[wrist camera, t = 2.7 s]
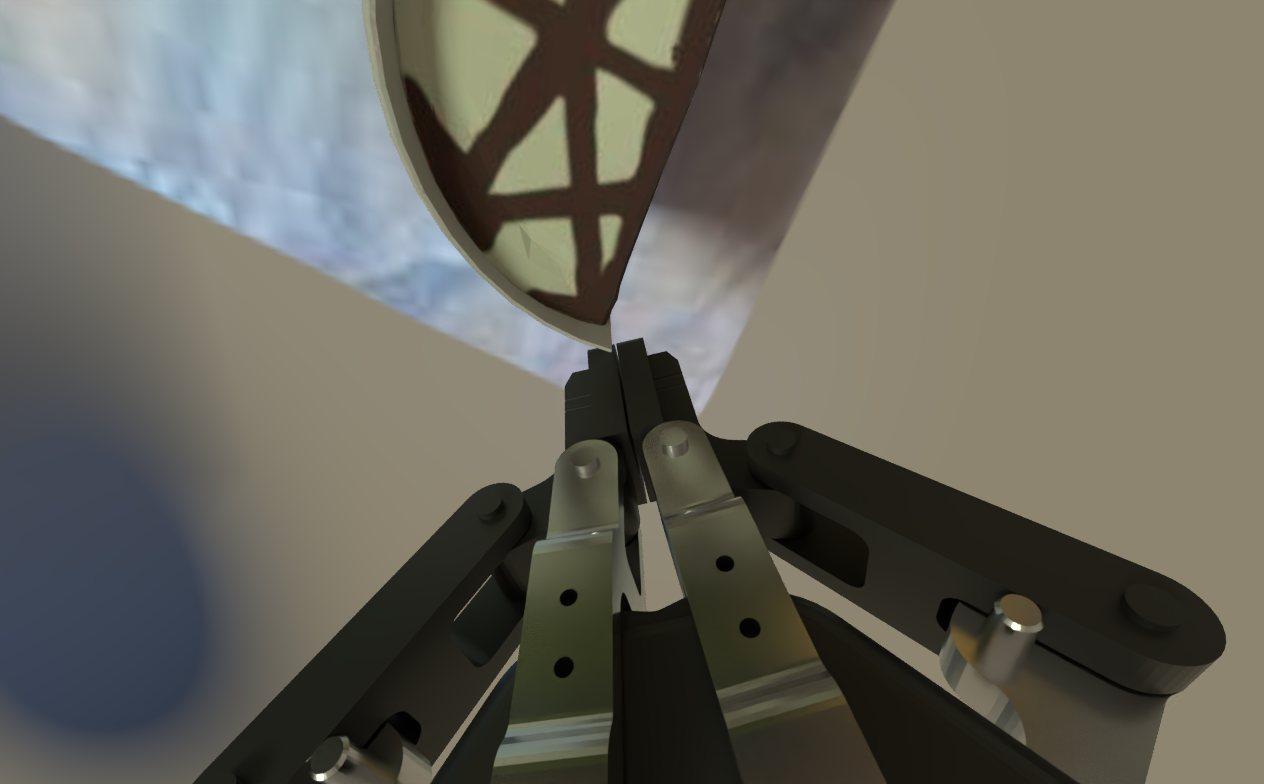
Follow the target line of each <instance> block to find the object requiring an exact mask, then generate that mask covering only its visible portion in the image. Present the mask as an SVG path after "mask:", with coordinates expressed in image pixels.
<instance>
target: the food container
mask: <svg viewBox="0 0 1264 784" xmlns="http://www.w3.org/2000/svg"><path fill="white" fill-rule="evenodd" d="M725 2H726V0H362V14H363V20H364V26H365V32H366V38H367V44H368V50H369V56H370V62H371V68H372V74H373V80H374V83H375V86H376V90H377V93H378V96H379V99H380V103H381V106H382V109H383V112H384V116H385V119H386V122H387V126H388V129H389V132H390V135H391V138H392V141H393V143H394V145H395V147H396V149H397V151H398V154H399V156H400V158H401V160H402V162H403V165H404V167H405V169H406V171H407V173H408V175H409V178H410V180H411V182H412V184H413V186H414V188H415V190H416V192H417V193H418V195H419V196H420V198H421V200H422V201H423V203H424V204H425V206H426V207H427V209H428V211H429V212H430V214H431V215H432V217H433V219H434V220H435V222H436V223H437V225H438V226H439V228H440V230H441V231H442V232H443V234H444V235H445V236H446V237H447V238H448V240H449V241H450V242H451V243H452V244H453V245H454V247H455V248H456V249H457V250H458V251H459V253H460V254H461V255H462V256H463V257H464V259H465V260H466V261H467V262H468V263H469V265H470V266H471V267H472V268H473V269H474V270H475V271H476V272H477V273H478V274H479V275H480V276H481V277H482V278H483V279H485V280H486V281H487V282H488V283H489V284H490V285H491V286H492V287H494V288H495V289H496V290H497V291H498V292H499V293H500V294H501V295H502V296H504V297H505V298H506V299H507V300H508V301H509V302H510V303H512V304H513V305H515V306H516V307H518V308H519V309H521V310H522V311H524V312H525V313H527V314H528V315H530V316H531V317H533V318H534V319H536V320H537V321H538V322H540V323H541V324H543V325H545V326H547V327H549V328H551V329H553V330H555V331H557V332H559V333H561V334H563V335H565V336H567V337H569V338H571V339H573V340H576V341H578V342H580V343H583V344H586V345H589V346H592V347H596V348H599V349H602V350H605V351H608V352H611V351H612V340H611V323H610V314H611V311H612V309H613V307H614V305H615V303H616V301H617V299H618V294H619V289H620V285H621V282H622V279H623V276H624V273H625V270H626V267H627V264H628V261H629V259H630V256H631V254H632V251H633V248H634V246H635V243H636V240H637V238H638V235H639V232H640V230H641V227H642V224H643V222H644V219H645V216H646V214H647V211H648V209H649V206H650V203H651V201H652V198H653V195H654V193H655V190H656V188H657V185H658V182H659V180H660V177H661V174H662V172H663V169H664V167H665V164H666V162H667V159H668V157H669V155H670V152H671V150H672V147H673V145H674V142H675V140H676V137H677V135H678V132H679V130H680V127H681V125H682V122H683V120H684V117H685V115H686V112H687V110H688V107H689V105H690V102H691V100H692V97H693V95H694V92H695V90H696V87H697V85H698V82H699V79H700V76H701V73H702V70H703V67H704V64H705V61H706V58H707V55H708V52H709V49H710V46H711V44H712V41H713V38H714V35H715V32H716V29H717V26H718V23H719V20H720V17H721V14H722V11H723V8H724V5H725Z"/></svg>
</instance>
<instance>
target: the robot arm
mask: <svg viewBox="0 0 1264 784" xmlns="http://www.w3.org/2000/svg"><path fill="white" fill-rule="evenodd" d="M616 345H617V351H618V355H617V352H616V348H615V345H614V344H613V345H612V351H611V352H608V351H605V350H602V349H599V348H596V349H591V350H588V365H589V369H588V370H583V371H579V372H575V373H572V375H571V376H570V378H569V380H568V382H567V383H566V385H565V412H566V413H565V451H564V452H563V453H562V454H561V455H560V457H559V459H558V460H557V462H556V465H555V472H554V474H553V475H552V476H551V477H549V478H548V479H546V480H545V481H543V482H541V483H540V484H538V485H536V486H534V487H532V488H530V489H528V490H526V491H523V492H521V491H520V489H519V488H518V487H516V486H515V485H512V484H509V483H497V484H492V485H489V486H486V487H484V488H482V489H480V490H479V491H477V492H476V493H474V494H473V495H472V496H471V497H469V499H467V501H465V502H464V504H463V505H462V506H461V507H460V508H459V509H458V510H457V511H456V512H455V513H454V514H453V515H452V516H451V517H450V518H449V519H448V520H447V521H446V522H445V523H444V524H443V525H442V526H441V527H440V528H439V529H438V530H437V531H436V532H435V534H434V535H432V536H431V538H430V539H429V540H428V541H427V542H426V543H425V544H424V545H423V546H422V547H421V548H420V549H419V550H418V551H417V552H416V553H415V554H414V555H413V556H412V557H411V558H410V559H409V560H408V561H407V562H406V563H405V564H404V565H403V566H402V567H401V568H400V570H398V572H397V573H396V574H395V575H394V576H393V577H392V578H391V579H390V580H389V581H388V582H387V583H386V584H385V585H384V586H383V587H382V588H381V589H380V590H379V591H378V592H377V593H376V594H375V595H374V596H373V597H372V598H371V599H370V600H369V601H368V603H366V605H365V606H364V607H363V608H362V609H361V610H360V611H359V612H358V613H357V614H356V615H355V616H354V617H353V618H352V619H351V620H350V621H349V622H348V623H347V624H346V625H345V626H344V627H343V629H341V630H340V631H339V633H337V634H336V636H334V637H333V639H332V640H331V641H330V642H329V643H328V644H327V645H326V646H325V647H324V648H323V649H322V650H321V651H320V652H319V653H318V654H317V655H316V656H315V657H314V658H313V659H312V660H311V661H310V662H309V663H308V665H306V666H305V667H304V669H302V671H301V672H300V673H299V674H298V675H297V676H296V677H295V678H294V679H293V680H292V681H291V682H290V683H289V684H288V685H287V686H286V687H285V688H284V689H283V690H282V691H281V692H280V693H279V694H278V695H277V696H276V697H275V698H274V699H273V700H272V702H270V703H269V704H268V706H267V707H266V708H265V709H264V710H263V711H262V712H261V713H260V714H259V715H258V716H257V717H256V718H255V719H254V720H253V721H252V722H251V723H250V724H249V725H248V726H247V727H246V728H245V729H244V730H243V731H242V732H241V733H240V734H239V735H238V736H237V737H236V738H235V740H234V741H233V742H232V743H231V744H230V745H229V746H228V747H227V748H226V749H225V750H224V751H223V752H222V753H221V754H220V755H219V756H218V757H217V758H216V759H215V760H214V761H213V762H212V763H211V764H210V765H209V766H208V767H207V768H206V769H205V770H204V772H203V773H202V774H201V775H200V776H199V777H198V778H197V779H196V780H195V782H194V783H193V784H1145V781H1146V777H1147V773H1148V770H1149V766H1150V762H1151V758H1152V754H1153V750H1154V746H1155V742H1156V738H1157V734H1158V731H1159V727H1160V723H1161V718H1162V714H1163V711H1164V708H1165V707H1166V706H1167V705H1168V704H1169V703H1170V702H1171V701H1172V700H1173V699H1175V698H1176V697H1177V696H1178V695H1179V694H1180V693H1181V692H1182V691H1183V690H1184V689H1185V688H1187V687H1188V686H1189V684H1191V683H1192V682H1193V681H1194V680H1195V679H1196V678H1197V677H1198V676H1199V675H1200V674H1201V673H1203V672H1204V671H1205V670H1206V669H1207V668H1208V667H1209V666H1210V665H1211V664H1212V663H1214V662H1215V661H1216V660H1217V659H1218V658H1219V657H1220V656H1221V655H1222V653H1223V651H1224V649H1225V645H1226V635H1225V632H1224V629H1223V626H1222V624H1221V622H1220V621H1219V619H1218V617H1217V616H1216V614H1215V613H1214V612H1213V611H1212V609H1211V608H1210V607H1209V606H1208V605H1207V604H1206V603H1205V602H1204V601H1203V600H1202V599H1201V598H1200V597H1198V596H1197V595H1196V594H1195V593H1193V592H1192V591H1191V590H1189V589H1188V588H1186V587H1185V586H1183V585H1182V584H1180V583H1178V582H1176V581H1174V580H1173V579H1171V578H1169V577H1167V576H1164V575H1162V574H1160V573H1158V572H1155V571H1153V570H1150V569H1148V568H1145V567H1143V566H1141V565H1138V564H1136V563H1133V562H1131V561H1128V560H1126V559H1123V558H1121V557H1119V556H1116V555H1114V554H1111V553H1109V552H1107V551H1104V550H1102V549H1099V548H1097V547H1095V546H1092V545H1090V544H1087V543H1085V542H1082V541H1080V540H1078V539H1075V538H1073V537H1070V536H1068V535H1065V534H1063V533H1061V532H1058V531H1056V530H1053V529H1051V528H1048V527H1046V526H1044V525H1041V524H1039V523H1036V522H1034V521H1032V520H1029V519H1026V518H1024V517H1022V516H1019V515H1017V514H1015V513H1012V512H1010V511H1007V510H1005V509H1002V508H1000V507H998V506H995V505H993V504H990V503H988V502H985V501H983V500H981V499H978V498H976V497H973V496H971V495H968V494H966V493H963V492H961V491H959V490H956V489H954V488H952V487H949V486H946V485H944V484H942V483H939V482H937V481H934V480H932V479H930V478H927V477H925V476H922V475H920V474H918V473H915V472H913V471H910V470H908V469H906V468H903V467H901V466H898V465H896V464H893V463H891V462H889V461H886V460H884V459H881V458H879V457H876V456H874V455H872V454H869V453H867V452H864V451H862V450H859V449H857V448H855V447H852V446H850V445H847V444H845V443H843V442H840V441H838V440H835V439H832V438H830V437H828V436H826V435H823V434H821V433H818V432H816V431H813V430H811V429H809V428H806V427H804V426H801V425H799V424H795V423H791V422H771V423H767V424H764V425H762V426H760V427H758V428H757V429H755V430H754V431H753V432H752V433H751V434H750V435H749V437H748V439H747V440H726V439H721V438H718V437H715V436H712V435H710V434H709V433H707V432H706V431H705V430H703V429H702V427H701V426H700V424H699V422H698V420H697V417H696V413H695V410H694V407H693V404H692V401H691V398H690V395H689V392H688V389H687V386H686V384H685V380H684V377H683V375H682V371H681V368H680V365H679V362H678V360H677V359H676V358H674V357H673V356H672V355H671V354H669V353H668V352H667V351H665V352H660V353H656V354H652V355H648V356H647V353H646V348H645V344H644V340H643V337H642V338H638V339H634V340H630V341H625V342H621V343H617V344H616ZM618 357H619V359H618ZM643 478H644V481H643ZM644 482H645V485H646V489H647V493H648V496H649V500H650V502H654V501H657V505H658V509H659V512H660V516H661V521H662V524H663V528H664V532H665V535H666V539H667V542H668V546H669V549H670V552H671V556H672V559H673V562H674V566H675V569H676V573H677V576H678V580H679V583H680V587H681V590H682V593H683V597H684V598H683V599H681V600H679V601H677V602H675V603H673V604H671V605H669V606H667V607H665V608H663V609H661V610H658V611H652V612H648V611H647V609H646V597H645V581H644V566H643V548H642V534H641V529H640V516H639V510H638V505H641V504H645V503H647V499H646V493H645V487H644ZM768 550H769V551H770V552H772V553H773V554H775V555H777V556H778V557H780V558H781V559H783V560H785V561H786V562H788V563H790V564H791V565H793V566H794V567H796V568H798V569H799V570H801V571H803V572H804V573H806V574H807V575H809V576H811V577H812V578H814V579H816V580H817V581H819V582H820V583H822V584H824V585H825V586H827V587H829V588H830V589H832V590H834V591H835V592H837V593H838V594H840V595H841V596H843V597H845V598H846V599H848V600H849V601H851V602H853V603H854V604H856V605H858V606H859V607H861V608H862V609H864V610H866V611H867V612H869V613H870V614H872V615H874V616H875V617H877V618H879V619H880V620H882V621H884V622H885V623H887V624H888V625H890V626H892V627H893V628H895V629H896V630H898V631H900V632H901V633H903V634H905V635H906V636H908V637H909V638H911V639H913V640H914V641H916V642H918V643H919V644H921V645H922V646H924V647H926V648H927V649H929V650H930V651H932V652H934V653H935V654H937V655H938V656H939V660H940V661H939V662H940V666H941V670H942V672H943V675H944V677H945V679H946V681H947V682H948V684H949V685H950V687H951V688H952V689H953V691H954V692H955V693H956V694H957V695H958V696H959V697H960V698H961V699H962V700H963V701H965V702H966V703H967V704H968V705H970V706H971V707H972V708H973V709H974V710H973V709H972V708H970V707H969V706H967V705H966V704H965V703H963V702H962V701H960V700H959V699H957V698H956V697H955V696H953V695H951V694H950V693H949V692H947V691H945V690H944V689H943V688H942V687H940V686H939V685H937V684H936V683H934V682H933V681H931V680H930V679H929V678H927V677H926V676H924V675H923V674H921V673H920V672H918V671H917V670H915V669H914V668H913V667H911V666H910V665H908V664H907V663H905V662H904V661H902V660H901V659H900V658H898V657H896V656H895V655H894V654H892V653H891V652H889V651H888V650H887V649H885V648H884V647H882V646H881V645H879V644H878V643H876V642H875V641H874V640H872V639H871V638H869V637H868V636H866V635H865V634H863V633H862V632H860V631H859V630H858V629H856V628H855V627H853V626H852V625H851V624H849V623H848V622H846V621H845V620H843V619H842V618H840V617H839V616H837V615H836V614H834V613H833V612H831V611H830V610H828V609H826V608H824V607H822V606H820V605H818V604H817V603H814V602H812V601H809V600H807V599H804V598H801V597H798V596H794V595H790V594H789V593H788V591H787V589H786V587H785V585H784V583H783V581H782V579H781V576H780V574H779V572H778V570H777V568H776V566H775V564H774V562H773V560H772V558H771V556H770V553H769V551H768ZM490 575H492V576H491V577H490V579H489V580H488V581H487V582H486V583H485V585H484V586H483V587H482V588H481V589H480V591H479V592H478V593H477V594H476V595H475V597H474V598H473V599H472V600H471V601H470V603H469V604H468V605H467V607H466V608H465V609H464V610H463V611H462V612H461V614H460V615H459V616H458V617H457V618H456V616H457V615H458V614H459V612H460V611H461V610H462V609H463V607H464V606H465V605H466V604H467V603H468V601H469V600H470V599H471V598H472V597H473V595H474V594H475V593H476V592H477V591H478V589H479V588H480V587H481V586H482V584H483V583H484V582H485V581H486V580H487V578H488V577H489V576H490ZM455 618H456V620H455V621H454V619H455ZM519 644H520V647H519V655H518V660H517V661H516V662H515V663H514V664H513V665H512V666H511V667H510V668H509V669H508V671H507V672H506V673H505V674H504V675H503V677H502V678H501V679H500V680H499V682H498V683H497V685H496V686H495V687H494V689H493V690H492V692H491V693H490V695H489V696H488V698H487V699H486V701H485V702H484V704H483V705H482V707H481V708H480V710H479V711H478V713H477V714H476V716H475V717H474V719H473V720H472V722H471V723H470V725H469V726H468V728H467V729H466V731H465V732H464V734H463V735H462V737H461V738H460V740H459V741H458V743H457V744H456V746H455V747H454V749H453V750H452V752H451V753H450V755H449V756H448V758H447V759H446V761H445V762H444V764H443V765H442V767H441V768H440V770H439V771H438V773H437V774H436V776H435V777H434V779H433V780H432V769H431V767H432V765H433V764H434V763H435V761H436V760H437V759H438V757H439V756H440V754H441V753H442V752H443V750H444V749H445V747H446V746H447V745H448V743H449V742H450V740H451V739H452V738H453V736H454V735H455V733H456V732H457V731H458V729H459V728H460V726H461V725H462V724H463V722H464V721H465V719H466V718H467V717H468V715H469V714H470V712H471V711H472V709H473V708H474V707H475V705H476V704H477V703H478V701H479V700H480V698H481V697H482V696H483V694H484V693H485V692H486V690H487V689H488V687H489V686H490V684H491V683H492V682H493V680H494V679H495V678H496V676H497V675H498V673H499V672H500V671H501V669H502V668H503V666H504V665H505V664H506V662H507V661H508V659H509V658H510V657H511V655H512V654H513V652H514V651H515V650H516V648H517V647H518V645H519ZM975 710H976V711H977V712H976V711H975Z"/></svg>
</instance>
